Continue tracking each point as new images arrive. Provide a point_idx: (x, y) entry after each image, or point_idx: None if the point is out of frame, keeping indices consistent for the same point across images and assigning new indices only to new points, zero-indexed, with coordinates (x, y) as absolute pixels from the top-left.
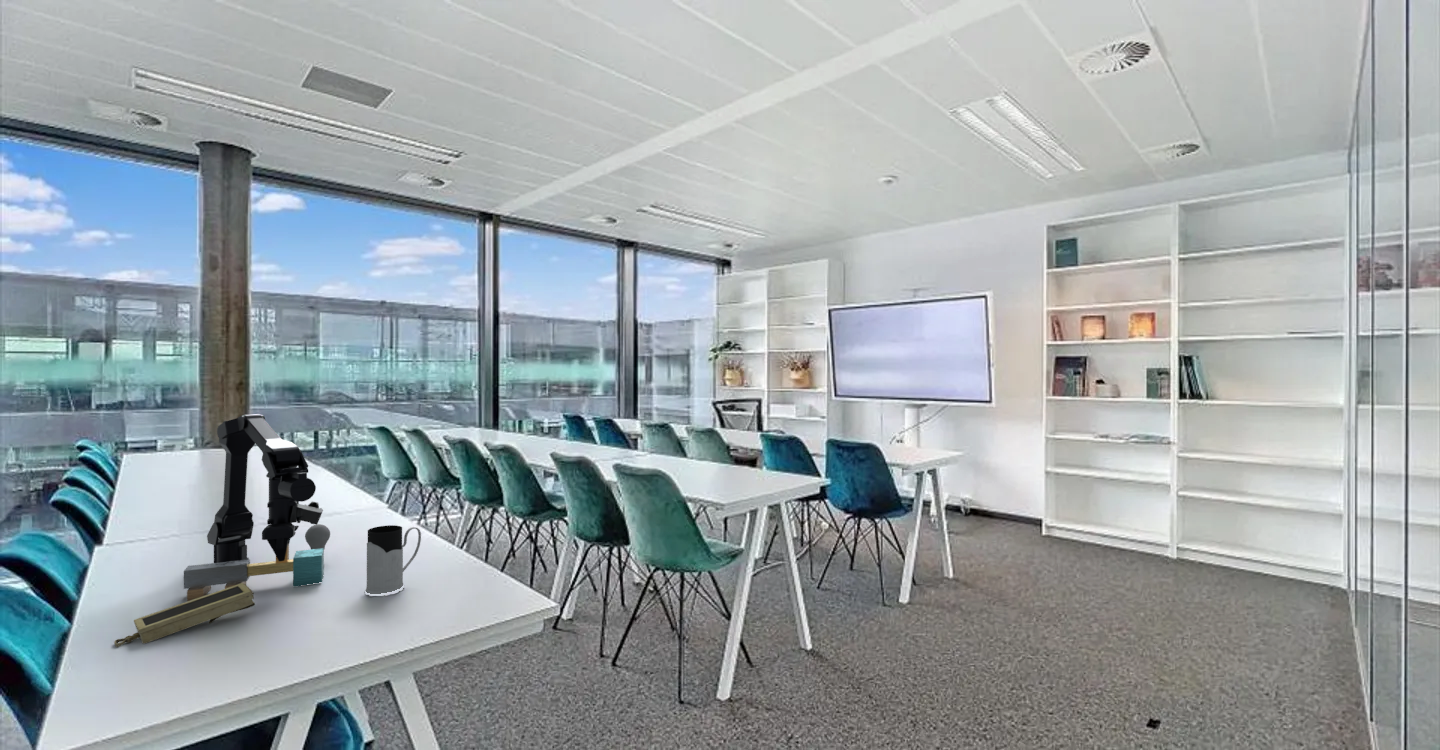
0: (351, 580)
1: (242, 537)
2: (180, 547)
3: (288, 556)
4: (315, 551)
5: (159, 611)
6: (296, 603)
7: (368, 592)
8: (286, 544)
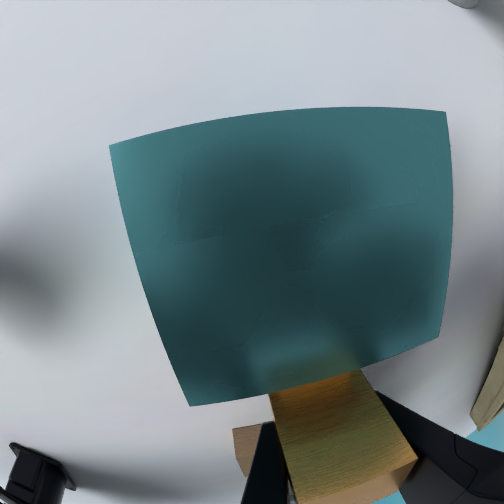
0: (312, 6)
1: (11, 500)
2: (5, 488)
3: (306, 405)
4: (263, 208)
5: (490, 419)
6: (498, 193)
7: (476, 2)
8: (485, 449)
